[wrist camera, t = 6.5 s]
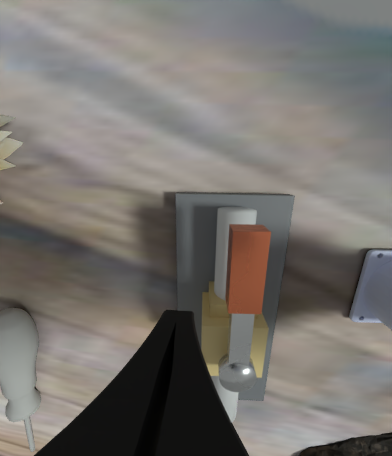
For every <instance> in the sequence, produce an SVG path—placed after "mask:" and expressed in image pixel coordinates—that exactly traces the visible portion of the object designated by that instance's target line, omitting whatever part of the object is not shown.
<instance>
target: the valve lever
mask: <svg viewBox="0 0 392 456" xmlns="http://www.w3.org/2000/svg"><path fill="white" fill-rule="evenodd" d="M270 237H271V231H269V230H268V229H267V228H266V227H265V226H264V225H252V224H229V239H228V257H227V275H226V293H225V299H226V305H227V310H228V313H229V328H228V344H227V353H226V354H224V355H223V356H222V357H221V358H220V359H219V362H218V371H219V381H220V384H221V385H222V386H223V387H224V388H225V389H227V390H229V391H232V392H244V391H247V390H249V389H250V388H252V387H253V386H254V385H255V383H256V380H257V376H256V372H255V368H254V365H253V361H252V359H251V358H250V353H251V344H252V334H253V325H254V316H255V314H261V313H262V304H263V296H264V288H265V279H266V271H267V262H268V254H269V245H270Z"/></svg>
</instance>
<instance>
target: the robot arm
mask: <svg viewBox="0 0 392 456" xmlns="http://www.w3.org/2000/svg"><path fill="white" fill-rule="evenodd" d="M378 254H379V256H378ZM377 256H378V257H377ZM349 318H350V319H351V320H352V321H353V322H374V323H383V324H385V325H386V326H387V327H388V328H389V329H391V330H392V250H374V249H373V250H370V251H368V252H367V254H366V257H365V261H364V264H363V268H362V272H361V275H360V279H359V283H358V286H357V290H356V293H355V297H354V301H353V304H352V308H351V311H350V315H349ZM34 456H249V455H248V453H247V451H246V449H245V447H244V445H243V443H242V441H241V439H240V438H239V436H238V434H237V432H236V430H235V428H234V426H233V424H232V422H231V420H230V418H229V416H228V414H227V412H226V410H225V408H224V406H223V404H222V402H221V399H220V397H219V395H218V392H217V390H216V388H215V386H214V383H213V381H212V378H211V376H210V373H209V370H208V368H207V365H206V362H205V359H204V357H203V354H202V350H201V347H200V344H199V340H198V336H197V332H196V328H195V321H194V313H193V312H192V311H177V310H166V311H164V313H163V314H162V316H161V318H160V319H159V321H158V323H157V324H156V326H155V327H154V329H153V330H152V332H151V333H150V334H149V336H148V337H147V338H146V340H145V341H144V343H143V344H142V345H141V347H140V348H139V349H138V351H137V352H136V353H135V354H134V356H133V357H132V358H131V359H130V360H129V362H128V363H127V364H126V365H125V367H124V368H123V369H122V370H121V371H120V372H119V374H118V375H117V376H116V377H115V378H114V379H113V380H112V381H111V382H110V384H109V385H108V386H107V387H106V388H105V389H104V390H103V391H102V392H101V393H100V394H99V395H98V396H97V397H96V398H95V399H94V400H93V401H92V402H91V403H90V404H89V405H88V406H87V407H86V408H85V409H84V410H83V411H82V412H81V413H80V414H79V415H78V416H77V417H76V418H75V419H74V420H73V421H72V422H71V423H70V424H69V425H68V426H67V427H65V428H64V429H63V430H62V431H61V432H60V433H59V434H58V435H56V436H55V437H54V438H53V439H52V440H51V441H50V442H49V443H47V444H46V445H45V446H44V447H43V448H42V449H41V450H40V451H38V452H37V453H36V454H35V455H34Z"/></svg>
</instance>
